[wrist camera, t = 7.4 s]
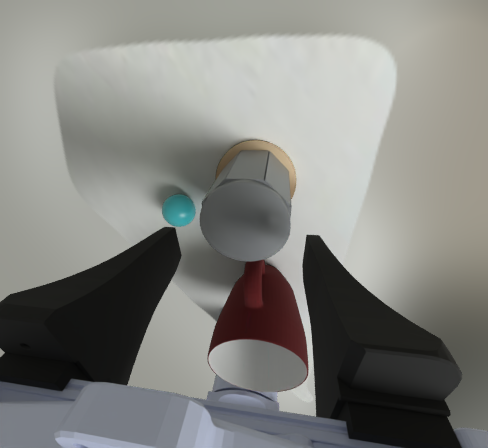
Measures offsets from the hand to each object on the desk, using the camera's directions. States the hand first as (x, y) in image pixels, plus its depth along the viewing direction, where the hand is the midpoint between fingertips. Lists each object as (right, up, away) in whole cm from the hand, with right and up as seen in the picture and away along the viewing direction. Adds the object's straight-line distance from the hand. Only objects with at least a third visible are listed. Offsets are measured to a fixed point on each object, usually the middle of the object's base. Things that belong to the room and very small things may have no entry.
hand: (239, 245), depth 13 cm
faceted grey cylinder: (+1, +5, +7) cm, 9 cm away
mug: (+2, -4, +13) cm, 14 cm away
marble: (-6, +3, +10) cm, 12 cm away
